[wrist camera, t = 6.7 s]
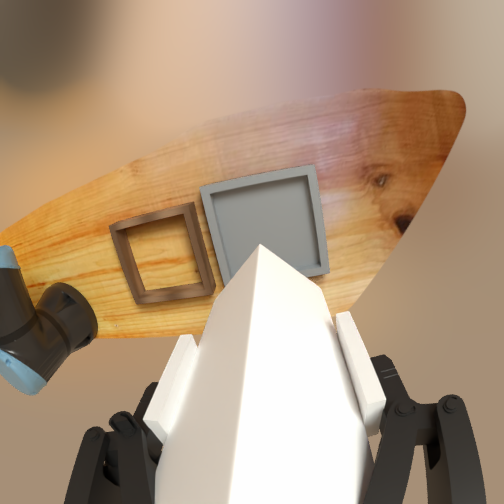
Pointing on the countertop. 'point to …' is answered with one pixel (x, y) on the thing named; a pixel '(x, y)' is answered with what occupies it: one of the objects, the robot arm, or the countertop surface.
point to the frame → (131, 268)
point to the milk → (267, 401)
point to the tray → (268, 220)
